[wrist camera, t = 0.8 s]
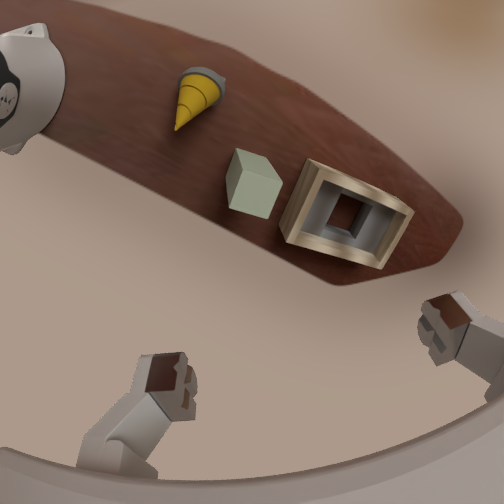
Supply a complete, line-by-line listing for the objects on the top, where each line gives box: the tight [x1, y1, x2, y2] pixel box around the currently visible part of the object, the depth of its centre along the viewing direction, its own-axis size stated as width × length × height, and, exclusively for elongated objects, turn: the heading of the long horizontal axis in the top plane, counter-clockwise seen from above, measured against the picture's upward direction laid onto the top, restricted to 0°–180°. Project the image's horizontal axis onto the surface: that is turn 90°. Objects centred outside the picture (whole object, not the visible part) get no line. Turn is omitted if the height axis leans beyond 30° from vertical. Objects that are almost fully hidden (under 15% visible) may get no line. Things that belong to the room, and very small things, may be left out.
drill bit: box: [175, 67, 226, 131], centre depth 28 cm, size 5×5×10 cm
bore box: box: [278, 158, 415, 270], centre depth 39 cm, size 16×10×5 cm, turn 70°
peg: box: [225, 148, 283, 219], centre depth 32 cm, size 4×4×10 cm
